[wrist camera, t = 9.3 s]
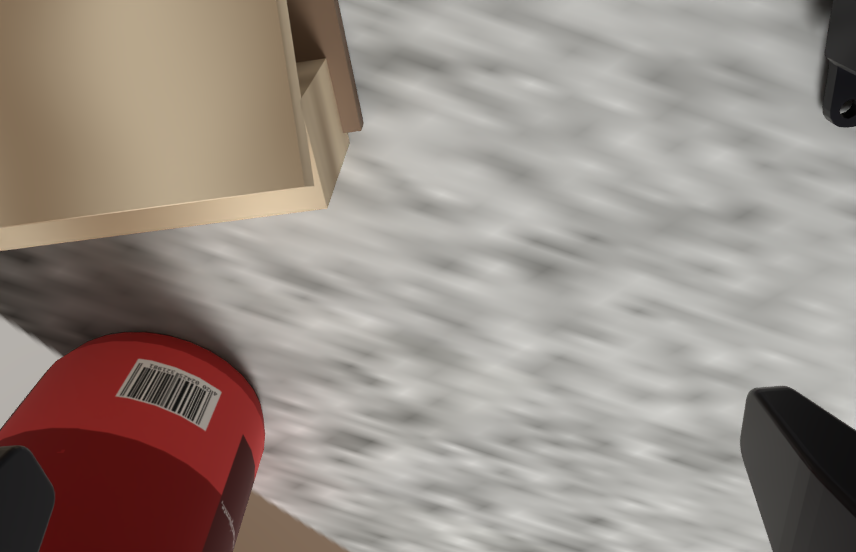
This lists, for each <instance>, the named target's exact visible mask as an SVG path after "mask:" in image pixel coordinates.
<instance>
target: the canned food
mask: <svg viewBox="0 0 856 552" xmlns="http://www.w3.org/2000/svg"><path fill="white" fill-rule="evenodd" d="M264 440H265V430H264V419H263V414H262V409H261V404H260V402H259V400H258V398H257V396H256V394H255V392H254V390H253V388H252V387H251V386H250V385H249V383H248V382H247V381H246V379H245V378H244V377H243V376H242V375H241V374H240V373H239V372H238V371H237V370H236V369H235V368H233V367H232V366H231V365H230V364H229V363H228V362H226V361H225V360H223V359H222V358H220V357H219V356H217V355H215V354H214V353H212V352H211V351H209V350H207V349H204V348H202V347H200V346H198V345H196V344H193V343H191V342H188V341H185V340H182V339H178V338H175V337H172V336H168V335H161V334H154V333H148V332H123V333H117V334H111V335H105V336H102V337H99V338H96V339H94V340H91V341H88V342H86V343H85V344H83V345H81V346H80V347H78V348H76V349H75V350H73V351H71V352H70V353H68V354H67V355H65V356H64V357H62V358H60V359H59V360H57V361H56V362H55V363H54V364H53V365H52V366H51V367H50V368H49V369H48V370H47V372H46V373H45V374H44V375H43V376H42V378H41V379H40V380H39V381H38V383H37V384H36V385H35V386H34V388H33V389H32V390H31V391H30V393H29V394H28V395H27V396H26V398H25V399H24V400H23V401H22V403H21V404H20V405H19V406H18V408H17V409H16V410H15V412H14V413H13V414H12V415H11V417H10V418H9V419H8V420H7V421H6V423H5V424H4V425H3V427H2V428H1V429H0V447H1V446H14V445H21V446H25V447H26V448H28V449H29V450H30V451H31V452H32V453H33V455H34V457H35V458H36V460H37V461H38V463H39V464H40V466H41V468H42V469H43V471H44V472H45V474H46V475H47V477H48V479H49V480H50V482H51V483H52V485H53V487H54V491H55V504H54V508H53V511H52V514H51V517H50V520H49V523H48V526H47V529H46V532H45V535H44V538H43V541H42V544H41V547H40V550H39V552H233V549H234V546H235V542H236V539H237V536H238V533H239V529H240V526H241V522H242V519H243V516H244V513H245V510H246V506H247V503H248V500H249V496H250V493H251V490H252V487H253V483H254V480H255V477H256V473H257V470H258V467H259V463H260V460H261V457H262V454H263V450H264Z"/></svg>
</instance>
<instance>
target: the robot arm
mask: <svg viewBox="0 0 856 552" xmlns="http://www.w3.org/2000/svg"><path fill="white" fill-rule="evenodd" d="M825 56H826V57H827V58H828V59H829V60H830V65H829V71H828V77H827V83H826V89H825V95H824V101H823V115H824V116H825V118H826V119H827V120H828V121H830V122H831V123H833V124H835V125H836V126H838V127H854V126H856V0H833V5H832V11H831V17H830V24H829V30H828V36H827V43H826V49H825ZM851 99H852V102H853V103H852V105H851V107H850V109H849V110H847V111H846V112H844V113H841V114H840V109H841V106H842V105H843V104H844V103H845V102H846V101H849V100H851ZM740 447H741V454H742V458H743V461H744V465H745V468H746V471H747V474H748V477H749V480H750V483H751V486H752V489H753V492H754V495H755V498H756V501H757V504H758V508H759V511H760V514H761V517H762V520H763V523H764V526H765V529H766V532H767V535H768V538H769V541H770V544H771V547H772V550H773V552H856V430H855V429H853V428H851V427H850V426H848V425H847V424H845V423H844V422H842V421H841V420H839V419H838V418H836V417H835V416H833V415H832V414H830V413H829V412H827V411H826V410H824V409H823V408H821V407H820V406H818V405H817V404H815V403H814V402H812V401H811V400H809V399H808V398H806V397H805V396H803V395H802V394H800V393H798V392H797V391H795V390H794V389H792V388H790V387H787V386H774V387H761V388H754V389H752V390H751V391H750V392H749V393H748V395H747V399H746V404H745V411H744V417H743V424H742V430H741V436H740ZM54 504H55V491H54V487H53V485H52V483H51V482H50V480H49V479H48V477H47V475H46V474H45V472H44V471H43V469H42V468H41V466H40V464H39V463H38V461H37V460H36V458H35V457H34V455H33V453H32V452H31V451H30V450H29V449H28V448H26V447H25V446H21V445H14V446H1V447H0V552H39V550H40V547H41V544H42V541H43V538H44V535H45V532H46V529H47V526H48V523H49V520H50V517H51V514H52V511H53V508H54Z"/></svg>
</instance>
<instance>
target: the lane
mask: <svg viewBox="0 0 856 552" xmlns="http://www.w3.org/2000/svg"><path fill="white" fill-rule="evenodd" d="M287 7H288V14H289V20H290V27H291V34H292V40H293V47H294V54H295V60H296V63H298V62H305V61H311V60H318V59H324V58H326V60H327V65H328V69H329V73H330V78H331V82H332V87H333V91H334V95H335V100H336V104H337V109H338V113H339V117H340V122H341V126H342V131H343V133H348V132H355V131H361V130H362V127H363V118H362V114H361V109H360V104H359V99H358V94H357V90H356V85H355V80H354V75H353V71H352V66H351V61H350V56H349V51H348V47H347V42H346V37H345V32H344V27H343V23H342V18H341V13H340V8H339V3H338V0H287Z"/></svg>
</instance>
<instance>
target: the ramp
mask: <svg viewBox="0 0 856 552" xmlns="http://www.w3.org/2000/svg"><path fill="white" fill-rule="evenodd" d="M349 143H350V142H349V137H348V133H343V131H342V126H341V122H340V117H339V113H338V109H337V104H336V100H335V95H334V91H333V87H332V82H331V78H330V73H329V69H328V65H327V60H326V58H324V59H318V60H311V61H305V62H298V63H296V60H295V54H294V47H293V40H292V34H291V27H290V20H289V14H288V7H287V0H0V251H4V250H12V249H19V248H27V247H35V246H42V245H50V244H58V243H66V242H73V241H81V240H89V239H96V238H104V237H112V236H119V235H127V234H135V233H143V232H150V231H158V230H166V229H173V228H181V227H189V226H196V225H204V224H212V223H220V222H227V221H235V220H243V219H250V218H258V217H266V216H273V215H281V214H289V213H297V212H304V211H312V210H320V209H327V208H328V205H329V202H330V199H331V196H332V193H333V190H334V187H335V184H336V181H337V178H338V176H339V173H340V170H341V167H342V164H343V161H344V158H345V155H346V152H347V149H348V146H349Z"/></svg>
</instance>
